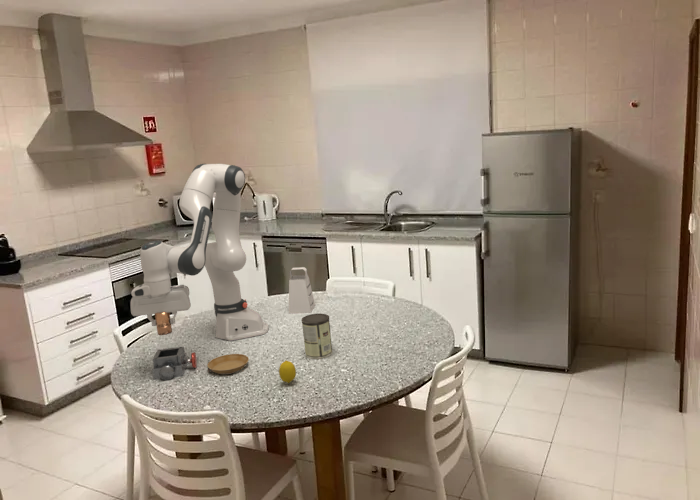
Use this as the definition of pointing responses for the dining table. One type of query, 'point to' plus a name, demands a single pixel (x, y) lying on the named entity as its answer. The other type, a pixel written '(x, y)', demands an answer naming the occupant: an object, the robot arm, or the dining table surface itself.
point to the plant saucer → (228, 363)
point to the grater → (300, 293)
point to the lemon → (287, 371)
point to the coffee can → (317, 336)
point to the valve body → (171, 363)
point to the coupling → (163, 323)
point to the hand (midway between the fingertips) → (163, 324)
